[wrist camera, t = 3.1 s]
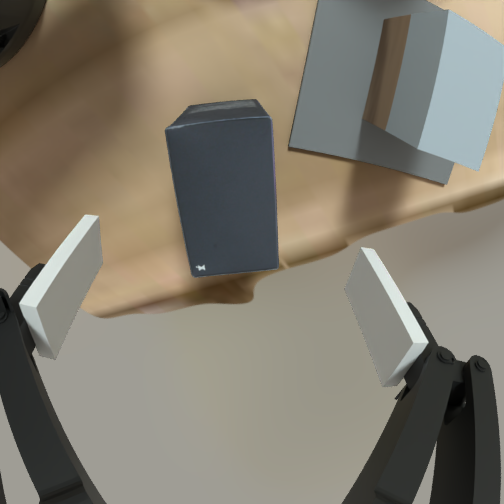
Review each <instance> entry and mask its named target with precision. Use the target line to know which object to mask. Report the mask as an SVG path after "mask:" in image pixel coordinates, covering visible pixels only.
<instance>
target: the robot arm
mask: <svg viewBox="0 0 504 504" xmlns="http://www.w3.org/2000/svg"><path fill="white" fill-rule="evenodd" d="M45 1H46V0H0V67H1V66H2V65H4V64H5V63H6V62H8V61H9V60H10V59H11V58H12V57H13V56H14V55H15V54H16V53H17V52H18V50H19V49H20V48H21V47H22V46H23V44H24V43H25V41H26V40H27V39H28V37H29V36H30V34H31V32H32V31H33V29H34V27H35V25H36V23H37V21H38V19H39V17H40V15H41V12H42V10H43V7H44V4H45ZM102 264H103V258H102V248H101V237H100V224H99V216H94V215H84V217H83V218H82V219H81V220H80V221H79V223H78V224H77V225H76V226H75V228H74V229H73V230H72V231H71V233H70V234H69V235H68V236H67V238H66V239H65V240H64V241H63V243H62V244H61V245H60V247H59V248H58V249H57V250H56V252H55V253H54V254H53V256H52V257H51V258H50V260H49V261H48V262H47V264H40V263H39V264H38V265H36V266H35V267H33V268H32V269H31V270H30V271H29V272H28V274H27V275H26V276H25V279H23V280H22V282H21V283H20V285H19V286H18V287H17V289H16V290H15V292H14V293H13V295H12V296H11V297H10V299H9V296H8V293H7V292H6V291H5V290H4V289H2V288H0V395H1V398H2V402H3V405H4V409H5V412H6V415H7V418H8V422H9V425H10V427H11V430H12V433H13V436H14V439H15V441H16V444H17V447H18V449H19V452H20V454H21V457H22V459H23V462H24V464H25V466H26V469H27V471H28V473H29V475H30V478H31V480H32V482H33V484H34V486H35V488H36V490H37V492H38V495H39V497H40V502H39V504H106V502H105V501H104V500H103V498H102V497H101V495H100V494H99V492H98V490H97V489H96V487H95V486H94V484H93V482H92V481H91V479H90V478H89V476H88V474H87V473H86V471H85V469H84V468H83V466H82V464H81V462H80V460H79V458H78V457H77V455H76V453H75V451H74V449H73V447H72V445H71V444H70V442H69V440H68V438H67V436H66V434H65V432H64V430H63V428H62V425H61V423H60V421H59V419H58V417H57V415H56V413H55V410H54V408H53V406H52V404H51V401H50V399H49V397H48V394H47V392H46V389H45V387H44V384H43V382H42V379H41V376H40V374H39V371H38V368H37V366H36V363H35V360H34V357H33V355H32V352H33V350H34V348H35V346H36V348H37V351H38V353H39V355H40V356H43V357H47V358H50V359H54V360H56V358H57V355H58V353H59V350H60V348H61V346H62V344H63V342H64V339H65V337H66V335H67V333H68V330H69V329H70V326H71V324H72V322H73V320H74V318H75V316H76V314H77V312H78V310H79V308H80V306H81V304H82V302H83V300H84V298H85V296H86V294H87V292H88V290H89V288H90V286H91V284H92V282H93V280H94V279H95V277H96V275H97V273H98V271H99V269H100V267H101V266H102ZM345 292H346V294H347V297H348V299H349V302H350V304H351V306H352V309H353V311H354V314H355V316H356V319H357V321H358V323H359V326H360V329H361V331H362V334H363V336H364V339H365V342H366V344H367V347H368V349H369V352H370V355H371V357H372V360H373V363H374V365H375V368H376V371H377V374H378V376H379V379H380V382H381V384H382V387H390V386H397V385H398V384H399V383H400V381H401V380H402V379H403V377H404V379H405V381H406V383H407V384H406V385H405V386H404V388H403V389H402V390H401V392H400V393H399V394H398V395H397V396H396V398H395V399H396V400H397V399H398V401H397V403H396V405H395V408H394V410H393V412H392V414H391V416H390V418H389V420H388V422H387V424H386V426H385V428H384V430H383V433H382V434H381V436H380V438H379V440H378V442H377V444H376V446H375V448H374V450H373V452H372V454H371V456H370V457H369V459H368V461H367V463H366V464H365V466H364V468H363V470H362V472H361V473H360V475H359V477H358V478H357V480H356V482H355V483H354V485H353V487H352V488H351V490H350V492H349V493H348V495H347V496H346V498H345V499H344V501H343V502H342V504H412V503H413V501H414V498H415V496H416V494H417V491H418V489H419V487H420V484H421V482H422V479H423V477H424V474H425V472H426V469H427V466H428V464H429V461H430V458H431V456H432V453H433V450H434V447H435V444H436V441H437V446H436V458H435V467H434V476H433V484H432V491H431V497H430V503H429V504H500V487H501V463H500V462H501V461H500V438H499V425H498V414H497V406H496V399H495V390H494V384H493V378H492V372H491V368H490V365H489V364H488V362H487V361H486V360H485V359H484V358H482V357H480V356H477V355H474V356H472V357H471V358H470V359H469V360H468V362H467V363H466V362H462V361H458V360H456V359H455V357H454V355H453V354H452V352H451V351H449V350H448V349H447V348H444V347H442V346H438V344H437V343H436V341H435V339H434V337H433V335H432V334H431V332H430V330H429V328H428V327H427V326H426V323H425V321H424V320H423V319H422V316H421V315H420V313H419V311H418V310H417V309H416V308H415V307H414V306H413V305H412V304H411V303H410V302H406V301H405V299H404V298H403V296H402V294H401V293H400V291H399V289H398V288H397V286H396V284H395V283H394V281H393V279H392V278H391V276H390V275H389V273H388V271H387V270H386V268H385V266H384V265H383V263H382V262H381V260H380V258H379V257H378V255H377V254H376V252H375V251H374V249H370V248H363V247H361V248H360V251H359V253H358V256H357V259H356V261H355V264H354V267H353V269H352V271H351V274H350V277H349V279H348V282H347V284H346V287H345ZM465 402H466V404H465ZM0 504H6V499H5V495H4V490H3V484H2V479H1V473H0Z"/></svg>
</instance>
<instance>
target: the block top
mask: <svg viewBox="0 0 504 504" xmlns="http://www.w3.org/2000/svg"><path fill="white" fill-rule="evenodd" d="M503 81H504V45H502V44H501V43H500V42H498V41H497V40H496V39H494V38H493V37H491V36H490V35H489V34H487V33H486V32H484V31H483V30H481V29H480V28H478V27H477V26H475V25H474V24H472V23H471V22H469V21H467V20H466V19H464V18H463V17H461V16H459V15H458V14H456V13H454V12H452V11H451V10H439V11H431V12H423V13H417V14H411V19H410V25H409V30H408V35H407V41H406V46H405V51H404V55H403V60H402V65H401V69H400V74H399V78H398V82H397V87H396V91H395V95H394V99H393V103H392V107H391V111H390V115H389V119H388V122H387V126H386V130H385V131H387V132H388V133H390V134H392V135H394V136H396V137H397V138H399V139H401V140H403V141H404V142H406V143H408V144H410V145H411V146H413V147H415V148H416V149H419V150H422V151H425V152H428V153H430V154H433V155H436V156H439V157H442V158H445V159H447V160H450V161H453V162H455V163H458V164H461V165H463V166H466V167H468V168H471V169H473V170H476V171H479V168H480V165H481V163H482V160H483V156H484V153H485V150H486V147H487V144H488V141H489V137H490V134H491V130H492V127H493V123H494V119H495V116H496V112H497V108H498V104H499V100H500V95H501V91H502V86H503Z"/></svg>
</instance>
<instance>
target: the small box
mask: <svg viewBox="0 0 504 504" xmlns="http://www.w3.org/2000/svg"><path fill="white" fill-rule="evenodd" d="M165 135H166V142H167V148H168V154H169V161H170V167H171V172H172V178H173V184H174V190H175V195H176V201H177V206H178V212H179V216H180V222H181V226H182V231H183V237H184V241H185V247H186V251H187V256H188V261H189V265H190V270H191V274H192V276H193V277H195V278H197V277H206V276H216V275H226V274H236V273H247V272H257V271H266V270H275V269H278V267H279V256H278V226H277V199H276V177H275V158H274V139H273V124H272V118H271V117H270V116H269V115H268V113H267V112H266V111H265V110H264V108H263V107H262V106H261V105H260V103H259V102H258V101H257V100H256V99H251V100H237V101H226V102H216V103H207V104H199V105H191V106H188V107H187V108H186V110H185V111H184V112H183V113H182V114H181V115H180V116H179V117H178V118H177V119H176V121H174V123H173V124H171V125H170V126H168V127H167V128H166V129H165Z"/></svg>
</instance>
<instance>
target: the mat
mask: <svg viewBox="0 0 504 504" xmlns="http://www.w3.org/2000/svg"><path fill="white" fill-rule="evenodd" d="M439 10H443V9H441V8H439V7H438V6H436V5H434V4H432V3H430V2H428V1H426V0H318V2H317V8H316V13H315V18H314V23H313V28H312V33H311V38H310V43H309V48H308V53H307V58H306V63H305V68H304V73H303V77H302V82H301V87H300V92H299V97H298V102H297V106H296V111H295V116H294V121H293V126H292V130H291V135H290V140H289V145H288V146H289V147H294V148H300V149H305V150H310V151H316V152H321V153H326V154H330V155H335V156H340V157H344V158H349V159H353V160H358V161H362V162H366V163H370V164H374V165H378V166H382V167H386V168H390V169H394V170H398V171H401V172H405V173H409V174H412V175H416V176H419V177H423V178H426V179H430V180H433V181H436V182H440V183H443V184H446V185H447V183H448V180H449V177H450V174H451V171H452V168H453V165H454V162H453V161H450V160H447V159H445V158H442V157H439V156H436V155H433V154H430V153H428V152H425V151H422V150H419V149H416V148H415V147H413V146H411V145H410V144H408V143H406V142H404V141H403V140H401V139H399V138H397V137H396V136H394V135H392V134H390V133H388V132H387V131H385V130H383V129H381V128H379V127H377V126H375V125H373V124H371V123H370V122H368V121H366V120H364V119H362V117H363V113H364V109H365V105H366V100H367V96H368V92H369V88H370V84H371V79H372V75H373V70H374V66H375V61H376V56H377V52H378V47H379V42H380V37H381V32H382V27H383V21H384V19H388V18H393V17H398V16H404V15H410V14H417V13H423V12H431V11H439Z"/></svg>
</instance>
